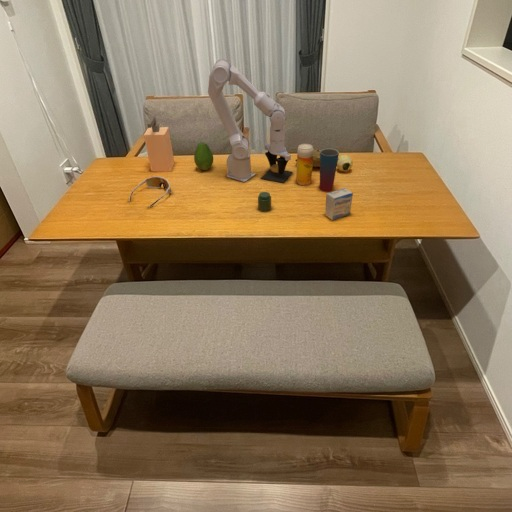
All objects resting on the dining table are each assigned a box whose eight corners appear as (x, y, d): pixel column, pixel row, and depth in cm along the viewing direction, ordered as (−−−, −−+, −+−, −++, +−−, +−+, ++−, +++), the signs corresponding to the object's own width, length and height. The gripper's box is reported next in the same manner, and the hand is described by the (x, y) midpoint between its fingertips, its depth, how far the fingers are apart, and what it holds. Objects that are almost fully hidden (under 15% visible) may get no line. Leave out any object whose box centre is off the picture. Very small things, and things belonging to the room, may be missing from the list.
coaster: (261, 179, 158) (261, 177, 158) (270, 169, 165) (270, 167, 165) (283, 183, 155) (283, 182, 154) (292, 173, 162) (292, 171, 161)
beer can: (310, 186, 152) (313, 150, 143) (295, 185, 153) (296, 149, 144) (311, 179, 157) (314, 143, 147) (297, 178, 158) (298, 142, 149)
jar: (255, 209, 140) (255, 195, 136) (262, 203, 143) (262, 189, 139) (266, 213, 137) (266, 199, 134) (273, 207, 140) (273, 193, 137)
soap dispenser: (155, 163, 173) (145, 113, 160) (174, 162, 173) (166, 113, 159) (149, 176, 163) (137, 124, 150) (169, 175, 163) (159, 123, 149)
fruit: (206, 163, 171) (203, 137, 164) (218, 168, 167) (215, 141, 160) (192, 169, 167) (188, 142, 160) (203, 175, 163) (200, 147, 155)
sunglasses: (178, 190, 152) (175, 180, 148) (154, 213, 143) (150, 202, 140) (151, 183, 158) (147, 172, 154) (126, 204, 149) (122, 194, 145)
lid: (286, 170, 158) (286, 167, 157) (275, 173, 155) (275, 170, 155) (278, 165, 161) (278, 162, 160) (268, 169, 159) (268, 165, 158)
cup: (337, 186, 151) (341, 149, 142) (332, 194, 147) (336, 157, 137) (320, 183, 154) (323, 147, 145) (315, 190, 149) (317, 154, 140)
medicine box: (331, 220, 132) (334, 198, 127) (324, 214, 135) (326, 193, 130) (350, 214, 135) (353, 192, 130) (342, 209, 138) (345, 187, 133)
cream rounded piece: (335, 167, 165) (336, 152, 161) (351, 167, 164) (353, 152, 160) (336, 173, 160) (337, 158, 156) (352, 174, 159) (354, 158, 155)
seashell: (330, 174, 162) (335, 151, 156) (296, 172, 161) (299, 149, 155) (326, 163, 171) (330, 141, 165) (293, 161, 170) (296, 139, 164)
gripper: (297, 142, 147) (296, 174, 156) (274, 131, 157) (274, 162, 165) (282, 146, 144) (282, 179, 152) (260, 135, 154) (261, 167, 162)
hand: (277, 171), depth 159 cm, fingers closed on lid, 5 cm apart
